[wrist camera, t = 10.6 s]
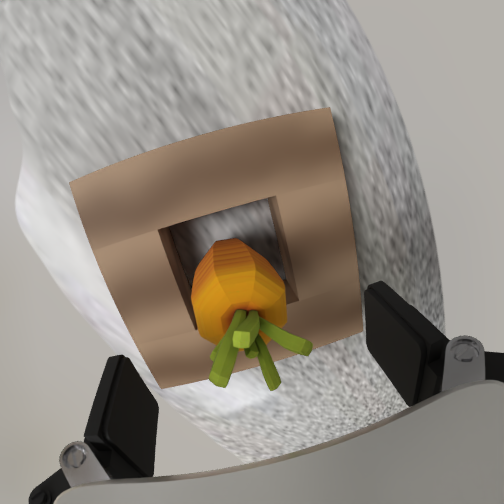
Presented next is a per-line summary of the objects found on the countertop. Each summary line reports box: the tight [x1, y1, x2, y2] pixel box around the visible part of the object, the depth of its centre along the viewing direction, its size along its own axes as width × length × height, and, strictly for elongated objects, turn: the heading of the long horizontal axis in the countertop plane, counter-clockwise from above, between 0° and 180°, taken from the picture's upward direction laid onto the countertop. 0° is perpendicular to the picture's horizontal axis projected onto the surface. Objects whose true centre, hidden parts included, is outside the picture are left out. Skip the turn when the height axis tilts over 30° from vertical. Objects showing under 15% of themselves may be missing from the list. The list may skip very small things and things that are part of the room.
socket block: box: [69, 107, 363, 389], centre depth 23 cm, size 18×18×4 cm
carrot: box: [191, 238, 313, 391], centre depth 17 cm, size 5×5×15 cm
